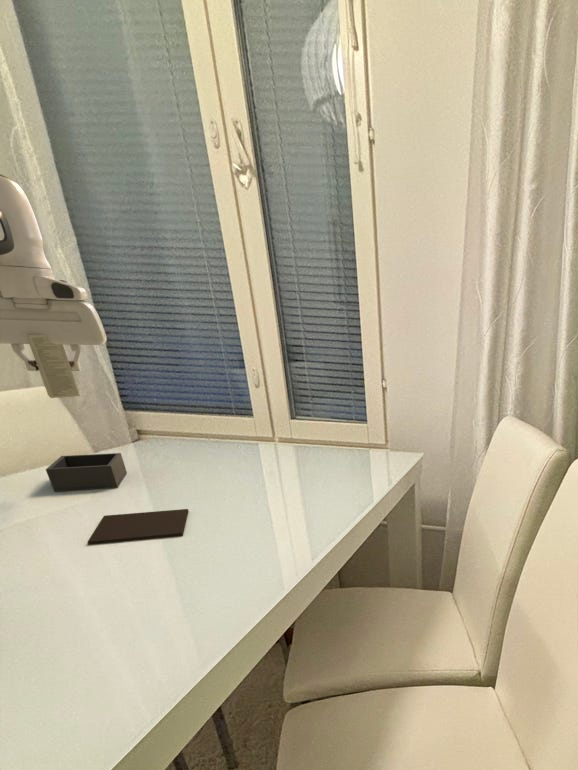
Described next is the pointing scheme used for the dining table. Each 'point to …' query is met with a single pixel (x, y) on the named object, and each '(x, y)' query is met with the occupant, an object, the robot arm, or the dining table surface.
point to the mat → (139, 526)
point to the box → (53, 367)
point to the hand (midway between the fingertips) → (55, 370)
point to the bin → (87, 472)
